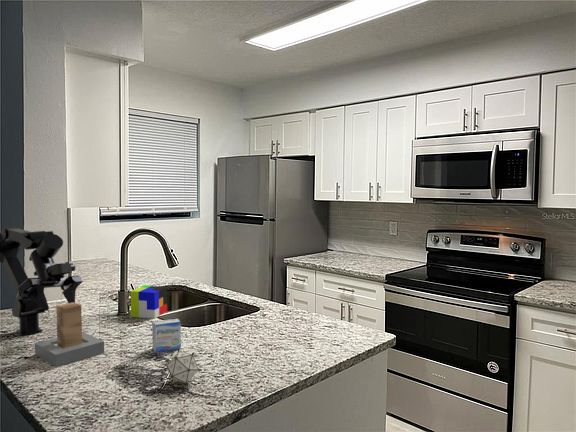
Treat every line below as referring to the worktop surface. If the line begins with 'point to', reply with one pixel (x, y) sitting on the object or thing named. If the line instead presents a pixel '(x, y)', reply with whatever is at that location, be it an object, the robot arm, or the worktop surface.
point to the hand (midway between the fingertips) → (60, 308)
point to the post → (69, 325)
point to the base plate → (68, 350)
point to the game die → (182, 367)
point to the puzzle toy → (148, 301)
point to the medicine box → (166, 335)
